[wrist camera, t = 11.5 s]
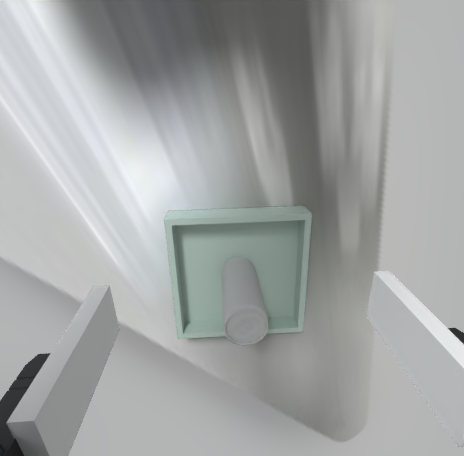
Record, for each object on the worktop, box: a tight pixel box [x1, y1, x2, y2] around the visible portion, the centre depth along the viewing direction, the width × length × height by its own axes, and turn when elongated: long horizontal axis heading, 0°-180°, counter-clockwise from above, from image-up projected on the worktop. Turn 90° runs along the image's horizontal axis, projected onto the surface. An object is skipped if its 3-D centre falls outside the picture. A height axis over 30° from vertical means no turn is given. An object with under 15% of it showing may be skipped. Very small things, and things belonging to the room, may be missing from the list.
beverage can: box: [221, 257, 268, 346], centre depth 36 cm, size 5×5×12 cm
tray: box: [164, 206, 312, 339], centre depth 41 cm, size 18×18×3 cm
